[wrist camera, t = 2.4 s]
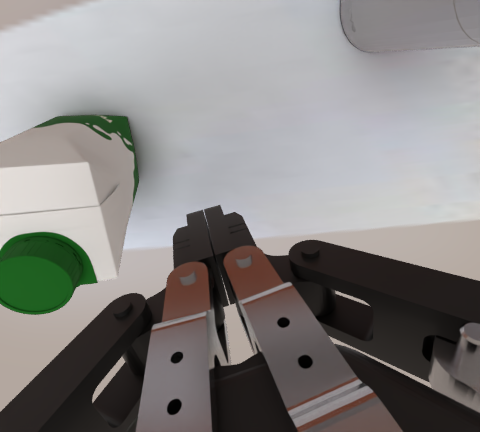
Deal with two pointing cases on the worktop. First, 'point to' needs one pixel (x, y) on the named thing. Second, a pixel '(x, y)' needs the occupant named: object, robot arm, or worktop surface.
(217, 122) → the worktop surface
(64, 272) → the soya milk
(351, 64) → the worktop surface
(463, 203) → the worktop surface
